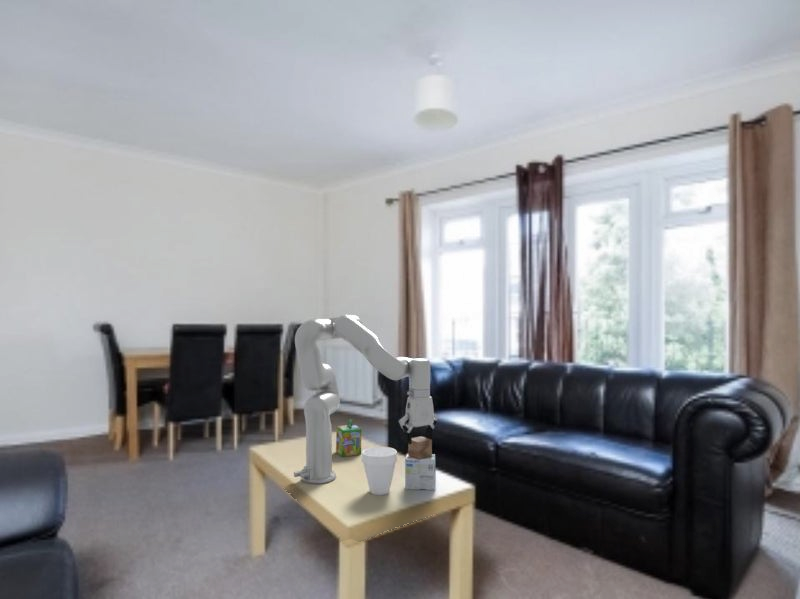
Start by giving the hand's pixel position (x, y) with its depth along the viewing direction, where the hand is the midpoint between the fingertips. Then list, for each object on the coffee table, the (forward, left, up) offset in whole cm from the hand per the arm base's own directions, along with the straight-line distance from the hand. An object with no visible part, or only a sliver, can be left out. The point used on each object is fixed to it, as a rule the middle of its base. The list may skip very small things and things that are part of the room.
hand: (418, 441), depth 167 cm
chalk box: (0, +51, -16) cm, 53 cm away
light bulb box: (0, 0, -16) cm, 16 cm away
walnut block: (0, 0, -5) cm, 5 cm away
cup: (-14, +5, -16) cm, 22 cm away
